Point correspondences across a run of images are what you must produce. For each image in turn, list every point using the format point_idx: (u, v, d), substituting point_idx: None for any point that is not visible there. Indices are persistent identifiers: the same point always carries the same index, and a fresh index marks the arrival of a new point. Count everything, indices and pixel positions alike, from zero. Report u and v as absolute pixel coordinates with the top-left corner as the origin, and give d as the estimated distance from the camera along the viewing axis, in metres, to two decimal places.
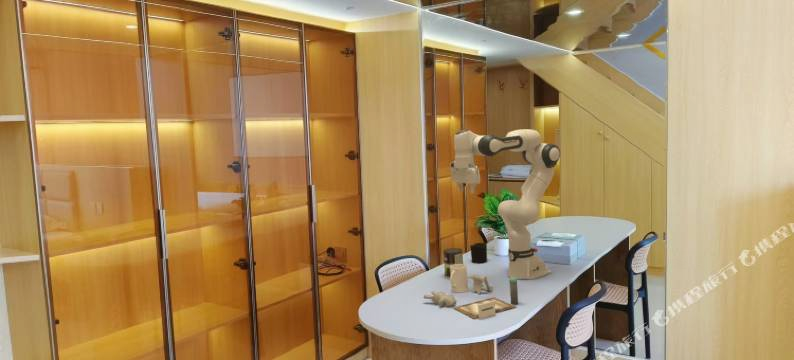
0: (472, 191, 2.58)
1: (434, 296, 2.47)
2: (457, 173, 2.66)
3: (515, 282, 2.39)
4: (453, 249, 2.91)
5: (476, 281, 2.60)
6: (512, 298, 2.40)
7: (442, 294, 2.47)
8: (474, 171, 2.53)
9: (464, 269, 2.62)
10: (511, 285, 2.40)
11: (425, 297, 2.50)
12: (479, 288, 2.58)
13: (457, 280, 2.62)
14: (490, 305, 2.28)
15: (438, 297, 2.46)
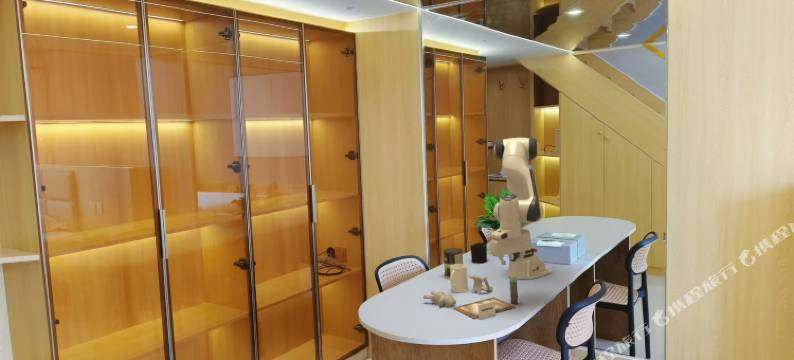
0: None
1: (434, 296, 2.47)
2: (505, 244, 2.35)
3: (515, 282, 2.39)
4: (453, 249, 2.91)
5: (476, 281, 2.60)
6: (512, 298, 2.40)
7: (442, 294, 2.47)
8: None
9: (464, 269, 2.62)
10: (511, 285, 2.40)
11: (425, 297, 2.50)
12: (479, 288, 2.58)
13: (457, 280, 2.62)
14: (490, 305, 2.28)
15: (438, 297, 2.46)
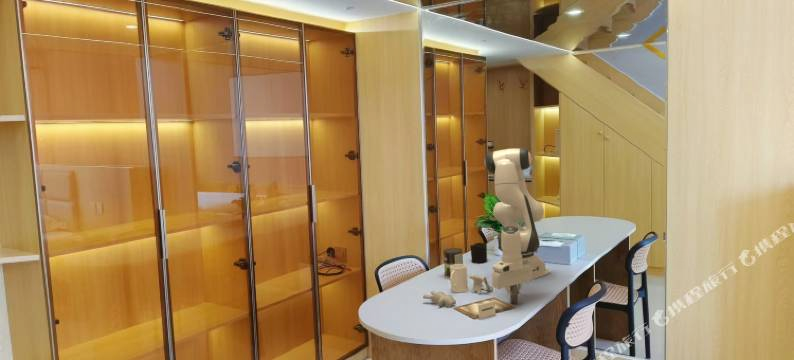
0: None
1: (433, 296, 2.48)
2: (506, 277, 2.37)
3: None
4: (453, 249, 2.91)
5: (476, 281, 2.60)
6: (512, 298, 2.40)
7: (441, 294, 2.47)
8: None
9: (464, 269, 2.62)
10: None
11: (425, 297, 2.50)
12: (479, 288, 2.58)
13: (457, 280, 2.62)
14: (490, 305, 2.28)
15: (437, 297, 2.46)
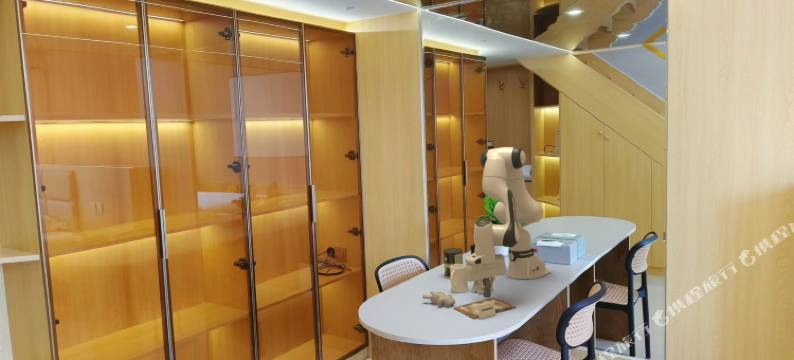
0: None
1: (433, 296, 2.48)
2: (479, 269, 2.37)
3: None
4: (453, 249, 2.91)
5: (476, 281, 2.60)
6: (484, 291, 2.40)
7: (441, 294, 2.47)
8: None
9: (464, 269, 2.62)
10: None
11: (424, 297, 2.50)
12: (479, 288, 2.58)
13: (457, 280, 2.62)
14: (490, 305, 2.28)
15: (437, 297, 2.46)
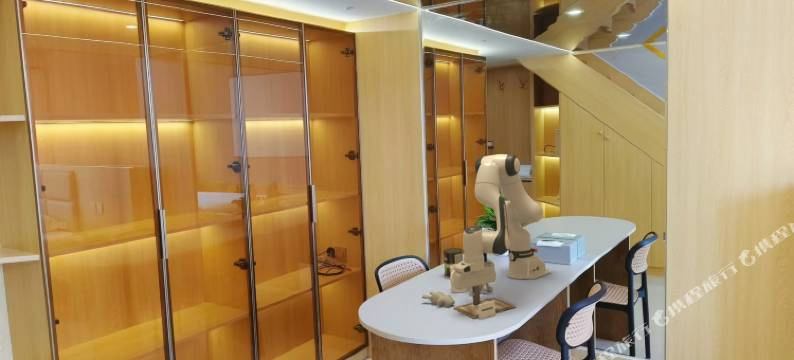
0: None
1: (432, 296, 2.48)
2: (468, 277, 2.34)
3: None
4: (453, 249, 2.91)
5: None
6: (474, 299, 2.37)
7: (440, 294, 2.47)
8: None
9: None
10: None
11: (423, 297, 2.50)
12: None
13: None
14: (490, 305, 2.28)
15: (436, 297, 2.46)
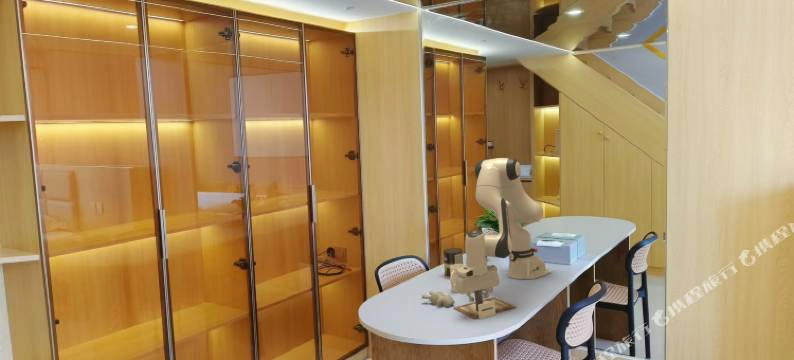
0: None
1: (432, 296, 2.47)
2: (470, 281, 2.30)
3: None
4: (453, 249, 2.91)
5: None
6: (477, 305, 2.33)
7: (440, 294, 2.47)
8: None
9: None
10: (476, 291, 2.33)
11: (423, 297, 2.50)
12: None
13: None
14: (490, 305, 2.28)
15: (436, 297, 2.46)
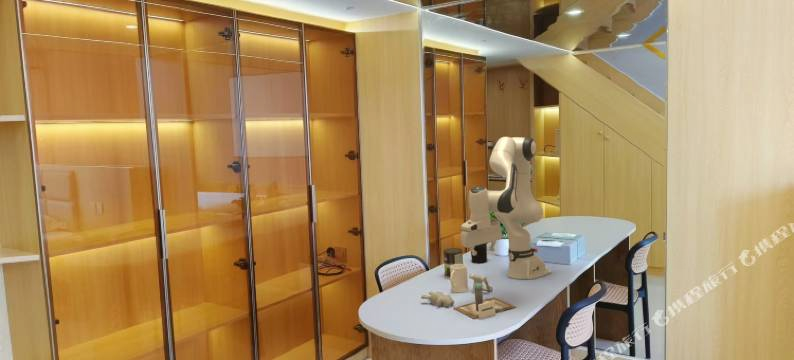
0: None
1: (432, 296, 2.47)
2: (475, 235, 2.40)
3: (480, 288, 2.32)
4: (453, 249, 2.91)
5: (476, 281, 2.60)
6: (477, 305, 2.33)
7: (440, 294, 2.47)
8: None
9: (464, 269, 2.62)
10: (476, 291, 2.33)
11: (423, 297, 2.50)
12: None
13: (457, 280, 2.62)
14: (490, 305, 2.28)
15: (436, 297, 2.46)
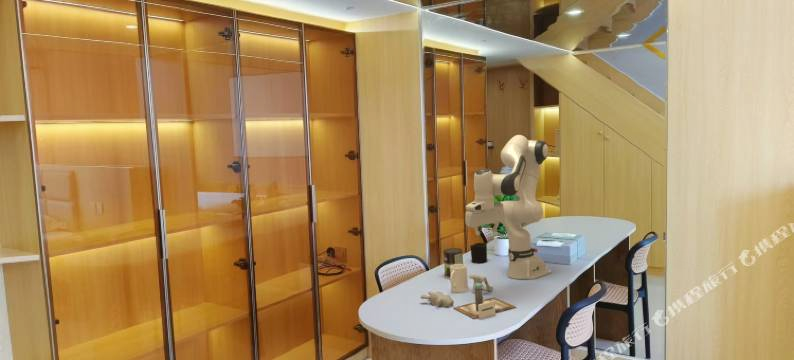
0: None
1: (431, 296, 2.47)
2: (479, 216, 2.49)
3: (480, 288, 2.32)
4: (453, 249, 2.91)
5: (476, 281, 2.60)
6: (477, 305, 2.33)
7: (439, 294, 2.47)
8: None
9: (464, 269, 2.62)
10: (476, 291, 2.33)
11: (422, 297, 2.50)
12: None
13: (457, 280, 2.62)
14: (490, 305, 2.28)
15: (435, 297, 2.46)
